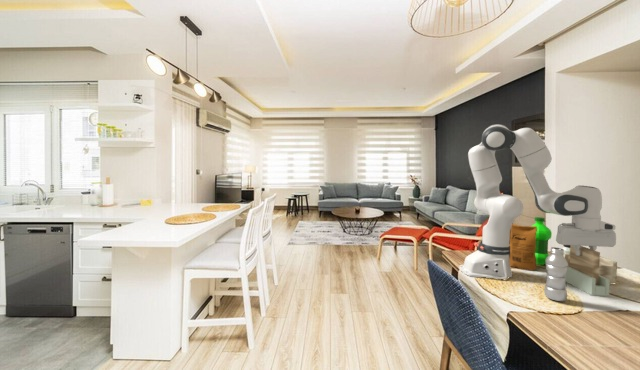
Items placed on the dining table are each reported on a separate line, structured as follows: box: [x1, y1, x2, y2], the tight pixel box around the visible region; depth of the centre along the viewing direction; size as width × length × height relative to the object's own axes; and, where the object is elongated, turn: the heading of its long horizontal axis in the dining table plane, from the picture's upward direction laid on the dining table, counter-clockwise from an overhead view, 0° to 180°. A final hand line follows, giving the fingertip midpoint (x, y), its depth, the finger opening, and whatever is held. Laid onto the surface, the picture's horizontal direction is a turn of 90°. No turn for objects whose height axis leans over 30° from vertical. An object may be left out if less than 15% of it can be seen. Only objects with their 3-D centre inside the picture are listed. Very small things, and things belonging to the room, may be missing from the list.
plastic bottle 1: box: [531, 216, 552, 266], centre depth 144 cm, size 10×10×25 cm
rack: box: [563, 253, 618, 284], centre depth 126 cm, size 10×18×10 cm, turn 171°
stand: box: [565, 266, 611, 297], centre depth 115 cm, size 6×17×7 cm, turn 171°
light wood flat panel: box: [569, 245, 601, 285], centre depth 114 cm, size 2×12×15 cm, turn 171°
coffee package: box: [509, 223, 537, 271], centre depth 139 cm, size 10×12×22 cm
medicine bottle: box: [560, 245, 571, 254], centre depth 145 cm, size 7×7×12 cm
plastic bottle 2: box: [543, 246, 568, 302], centre depth 103 cm, size 6×7×20 cm
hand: (584, 255), depth 114 cm, fingers closed on light wood flat panel, 2 cm apart
